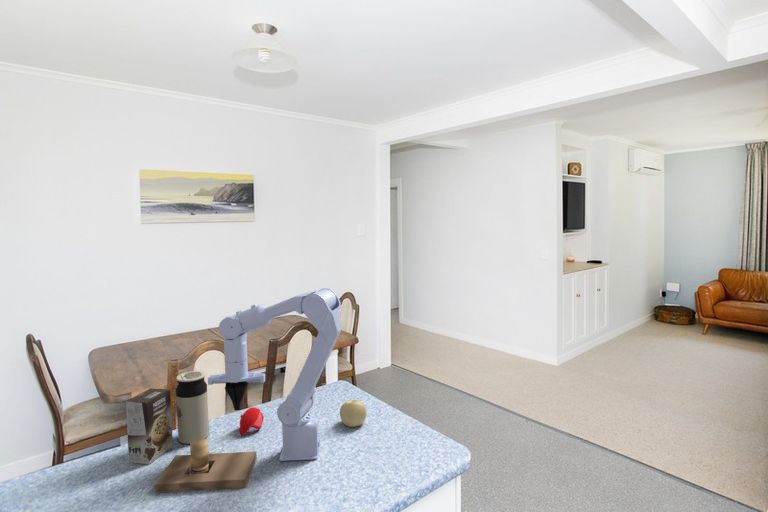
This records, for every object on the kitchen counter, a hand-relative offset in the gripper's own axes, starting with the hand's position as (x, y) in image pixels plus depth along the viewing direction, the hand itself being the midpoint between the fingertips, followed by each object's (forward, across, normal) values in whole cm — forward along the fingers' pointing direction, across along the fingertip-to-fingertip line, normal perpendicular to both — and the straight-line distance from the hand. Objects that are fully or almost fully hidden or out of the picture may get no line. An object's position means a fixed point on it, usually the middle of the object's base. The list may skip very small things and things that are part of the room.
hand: (238, 408), depth 117 cm
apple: (+11, -31, -10) cm, 34 cm away
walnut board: (+10, +4, +13) cm, 17 cm away
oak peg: (+10, +6, +13) cm, 18 cm away
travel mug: (+11, +14, -6) cm, 19 cm away
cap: (+11, -1, -9) cm, 14 cm away
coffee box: (+11, +22, +2) cm, 25 cm away
